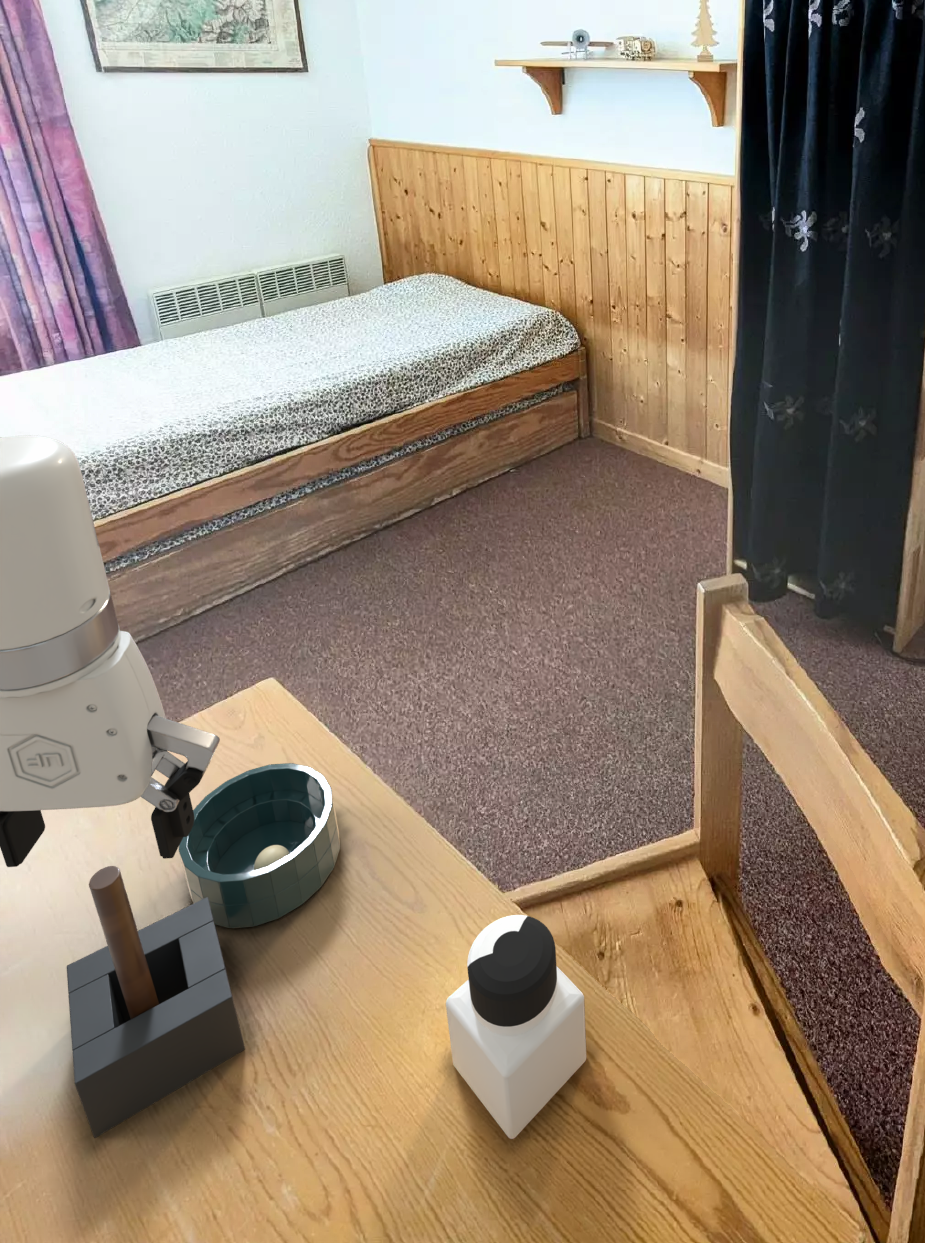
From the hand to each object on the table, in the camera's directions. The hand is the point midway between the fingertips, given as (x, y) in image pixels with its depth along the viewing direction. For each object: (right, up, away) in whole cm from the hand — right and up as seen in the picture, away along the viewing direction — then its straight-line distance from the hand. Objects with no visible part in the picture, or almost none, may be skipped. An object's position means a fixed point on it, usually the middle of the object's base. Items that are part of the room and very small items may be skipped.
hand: (102, 844), depth 58 cm
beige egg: (+3, -12, +18) cm, 22 cm away
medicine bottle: (+28, -19, +5) cm, 34 cm away
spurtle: (+1, -19, +6) cm, 19 cm away
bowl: (+2, -13, +20) cm, 24 cm away
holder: (0, -18, +7) cm, 19 cm away
